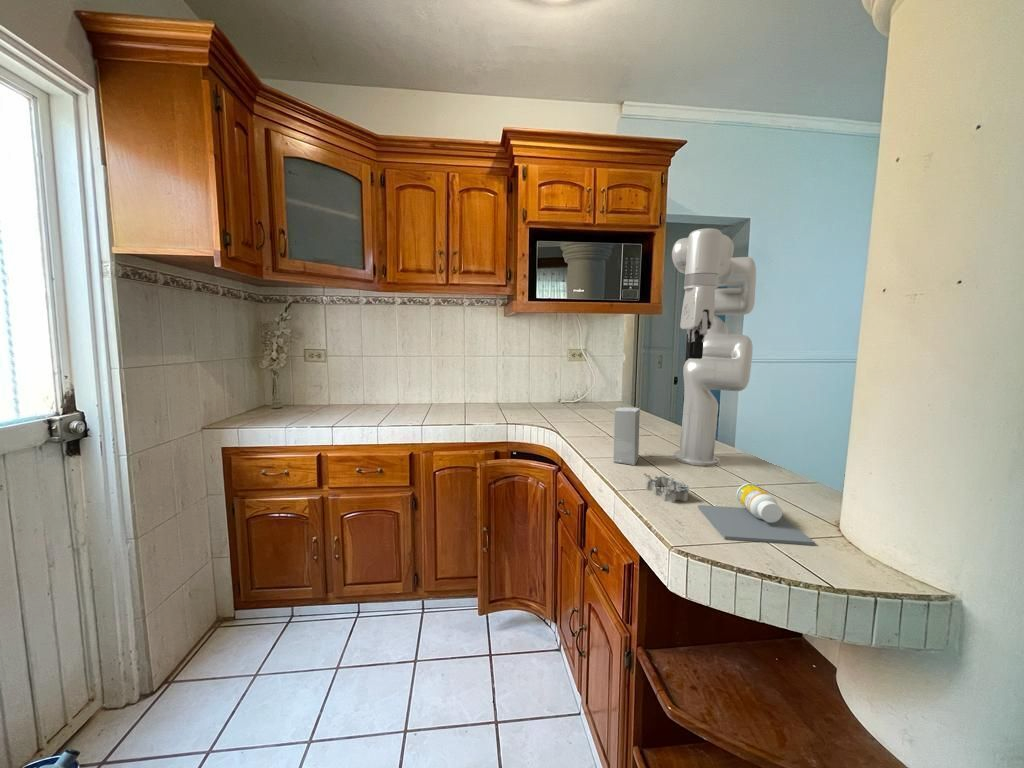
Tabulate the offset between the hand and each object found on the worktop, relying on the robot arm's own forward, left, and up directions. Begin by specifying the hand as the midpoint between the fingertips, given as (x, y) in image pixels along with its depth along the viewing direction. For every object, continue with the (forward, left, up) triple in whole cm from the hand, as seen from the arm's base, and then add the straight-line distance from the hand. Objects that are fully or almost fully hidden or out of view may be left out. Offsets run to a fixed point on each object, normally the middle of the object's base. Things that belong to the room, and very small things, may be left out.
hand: (694, 358), depth 102 cm
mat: (+23, +6, -32) cm, 40 cm away
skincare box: (-16, -12, -32) cm, 38 cm away
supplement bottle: (+14, +9, -29) cm, 34 cm away
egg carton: (+9, -7, -33) cm, 34 cm away
